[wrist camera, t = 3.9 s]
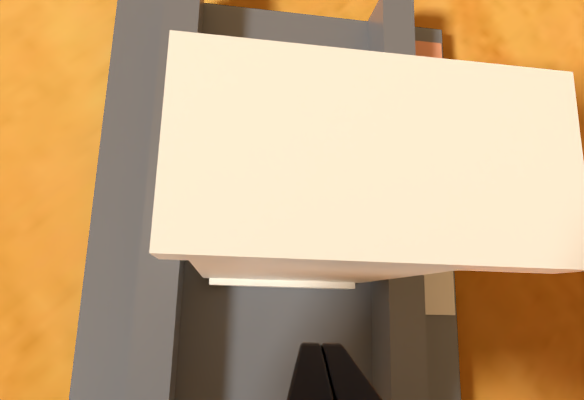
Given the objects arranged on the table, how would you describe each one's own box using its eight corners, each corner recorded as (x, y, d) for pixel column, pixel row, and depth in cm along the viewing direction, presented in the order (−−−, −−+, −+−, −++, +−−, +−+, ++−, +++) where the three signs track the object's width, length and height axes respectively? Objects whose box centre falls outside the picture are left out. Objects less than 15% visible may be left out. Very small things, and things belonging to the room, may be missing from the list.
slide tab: (358, 289, 16) (596, 270, 6) (197, 285, 16) (149, 253, 5) (357, 212, 17) (573, 72, 7) (203, 204, 16) (169, 30, 6)
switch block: (446, 437, 17) (493, 465, 14) (74, 443, 15) (39, 477, 12) (429, 45, 20) (463, 2, 17) (125, 12, 19) (107, -41, 16)
